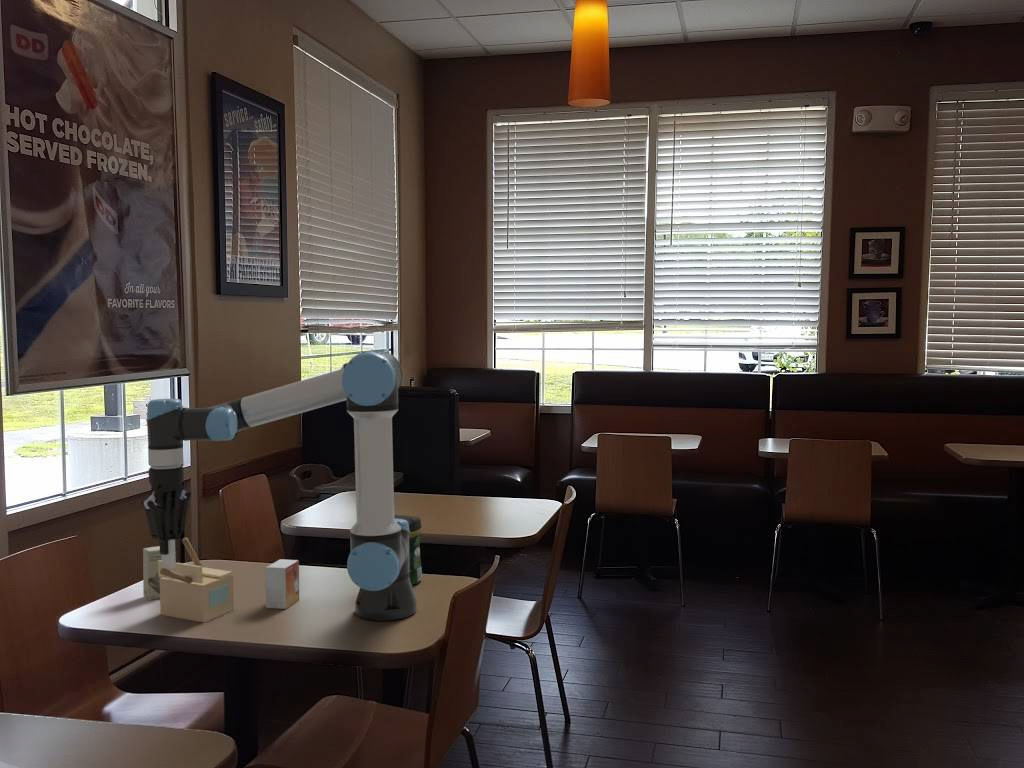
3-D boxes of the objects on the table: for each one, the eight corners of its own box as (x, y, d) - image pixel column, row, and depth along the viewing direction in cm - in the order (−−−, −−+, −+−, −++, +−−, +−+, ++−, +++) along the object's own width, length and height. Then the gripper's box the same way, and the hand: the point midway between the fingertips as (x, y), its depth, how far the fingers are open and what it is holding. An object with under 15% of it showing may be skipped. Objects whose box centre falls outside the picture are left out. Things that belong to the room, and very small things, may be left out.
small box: (286, 609, 217) (285, 568, 217) (265, 608, 218) (264, 567, 218) (300, 599, 225) (299, 559, 224) (280, 598, 226) (279, 558, 226)
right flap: (233, 573, 217) (232, 537, 216) (215, 580, 211) (214, 542, 211) (191, 567, 222) (190, 531, 222) (173, 573, 217) (172, 537, 216)
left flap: (201, 559, 207) (171, 570, 198) (202, 584, 207) (173, 596, 199) (159, 553, 212) (128, 563, 204) (160, 577, 213) (129, 588, 205)
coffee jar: (381, 584, 238) (380, 517, 237) (394, 576, 246) (394, 511, 245) (413, 587, 235) (413, 519, 234) (426, 579, 243) (425, 513, 242)
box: (148, 600, 224) (147, 551, 223) (143, 596, 228) (141, 548, 227) (169, 596, 228) (168, 548, 227) (163, 592, 231) (162, 544, 230)
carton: (234, 610, 217) (233, 574, 216) (204, 622, 208) (203, 585, 207) (191, 602, 223) (190, 568, 222) (160, 614, 214) (159, 578, 213)
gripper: (175, 461, 208) (178, 558, 209) (131, 469, 196) (134, 572, 198) (199, 463, 205) (202, 562, 206) (155, 471, 193) (158, 576, 194)
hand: (168, 567), depth 202 cm, fingers closed
